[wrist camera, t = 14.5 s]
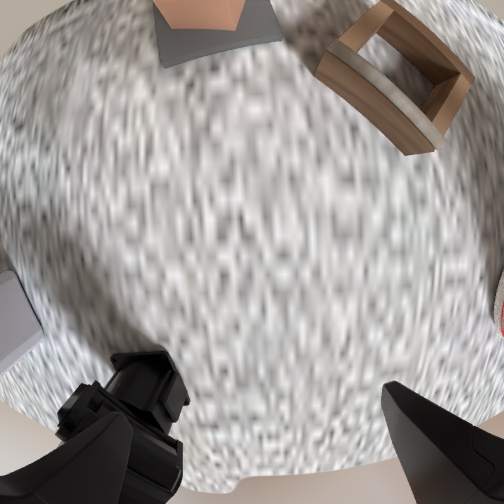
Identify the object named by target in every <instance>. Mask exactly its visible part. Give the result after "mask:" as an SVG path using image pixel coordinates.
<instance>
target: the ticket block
mask: <svg viewBox="0 0 504 504" xmlns="http://www.w3.org/2000/svg"><path fill="white" fill-rule="evenodd" d="M245 1H246V0H153V2H154V3H155V5H156V6H157V8H158V9H159V11H160V12H161V14H162V15H163V17H164V18H165V20H166V21H167V23H168V24H169V26H170V27H171V29H217V30H231V31H235V30H236V27H237V24H238V21H239V18H240V15H241V12H242V9H243V6H244V3H245Z"/></svg>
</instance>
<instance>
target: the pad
mask: <svg viewBox="0 0 504 504" xmlns="http://www.w3.org/2000/svg"><path fill="white" fill-rule="evenodd" d="M153 5H154V14H155V23H156V31H157V39H158V46H159V53H160V60H161V64H162V65H163V66H164V67H165V68H168V67H171V66H174V65H177V64H180V63H183V62H186V61H189V60H193V59H196V58H199V57H203V56H207V55H210V54H214V53H218V52H222V51H226V50H231V49H235V48H240V47H245V46H250V45H256V44H262V43H268V42H276V41H282V36H283V34H282V31H281V29H280V26H279V23H278V20H277V18H276V15H275V13H274V10H273V8H272V5H271V3H270V0H246V1H245V3H244V6H243V9H242V12H241V15H240V18H239V21H238V24H237V27H236V30H235V31H231V30H217V29H171V27H170V26H169V24H168V23H167V21H166V20H165V18H164V17H163V15H162V14H161V12H160V11H159V9H158V8H157V6H156V5H155V3H154V2H153Z"/></svg>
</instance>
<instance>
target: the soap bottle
mask: <svg viewBox="0 0 504 504" xmlns="http://www.w3.org/2000/svg"><path fill="white" fill-rule="evenodd" d="M43 338H44V333H43V330H42V327H41V325H40V324H39V322H38V320H37V318H36V316H35V314H34V312H33V310H32V308H31V306H30V304H29V302H28V300H27V298H26V296H25V294H24V291H23V289H22V287H21V285H20V282H19V280H18V278H17V276H16V274H15V273H14V272H13V271H9V270H6V271H4V272H2V273H0V378H1V377H2V376H3V375H4V374H5V373H6V372H7V371H8V370H10V369H11V368H12V367H13V366H14V365H15V364H16V363H17V362H19V361H20V360H21V359H22V358H23V357H24V356H25V355H27V354H28V353H29V352H30V351H31V350H32V349H34V348H35V347H36V346H37V345H38V344H40V343H41V342H42V340H43Z"/></svg>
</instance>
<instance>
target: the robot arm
mask: <svg viewBox="0 0 504 504" xmlns="http://www.w3.org/2000/svg"><path fill="white" fill-rule="evenodd" d="M163 356H164V357H165V358H164V357H163ZM115 359H116V360H115ZM110 360H111V362H112V364H113V366H114V368H115V370H116V372H115V374H114V375H113V376H112V378H111V379H110V380H109V382H108V383H107V385H106V386H105V388H103V387H102V386H101V384H100V383H99V382H97V381H96V380H95V381H94V382H93V384H92V385H90V384H88V385H86V384H83V383H81V384H80V385H79V387H78V388H77V389H76V390H75V392H74V393H73V394H72V395H71V397H70V398H69V399H68V400H67V401H66V402H65V403H64V405H63V406H62V407H61V408H60V410H59V411H58V412H57V415H58V420H59V424H58V425H57V427H59V429H58V430H57V432H56V433H55V435H56V436H57V437H58V438H59V439H61V440H62V441H61V443H60V444H59V446H58V447H57V449H55V450H53V451H52V452H50V453H48V454H47V455H45V456H43V457H42V458H40V459H38V460H37V461H35V462H33V463H31V464H29V465H27V466H25V467H23V468H21V469H18V470H16V471H14V472H12V473H9V474H7V475H4V476H0V504H166V502H167V501H168V500H169V499H170V498H171V497H173V496H174V494H175V493H176V491H177V490H178V488H179V487H180V484H181V481H182V477H183V443H182V442H181V441H179V440H175V439H174V438H172V437H171V436H169V435H168V434H169V431H170V429H171V426H172V423H176V422H177V421H178V418H179V416H180V413H181V410H182V407H183V406H187V405H189V403H190V398H189V396H188V394H187V390H186V388H185V385H184V383H183V381H182V379H181V377H180V375H179V373H178V372H177V371H176V369H175V367H174V364H173V362H172V360H171V357H170V355H169V354H168V353H167V352H165V351H158V352H144V353H125V354H113V355H112V356H111V357H110ZM381 406H382V410H383V413H384V416H385V419H386V423H387V426H388V430H389V433H390V437H391V440H392V443H393V446H394V449H395V451H396V453H397V456H398V458H399V460H400V463H401V465H402V467H403V470H404V472H405V475H406V477H407V480H408V482H409V485H410V487H411V490H412V492H413V495H414V497H415V500H416V503H417V504H504V439H502V438H500V437H497V436H494V435H492V434H490V433H488V432H486V431H484V430H482V429H480V428H478V427H476V426H473V425H472V424H471V423H469V422H467V421H465V420H463V419H461V418H460V417H458V416H456V415H454V414H452V413H451V412H449V411H447V410H445V409H444V408H442V407H440V406H438V405H437V404H435V403H433V402H431V401H430V400H428V399H426V398H424V397H423V396H421V395H419V394H417V393H416V392H414V391H412V390H411V389H409V388H407V387H406V386H404V385H402V384H401V383H399V382H397V381H391V382H388V383H385V384H384V385H383V387H382V396H381Z"/></svg>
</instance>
